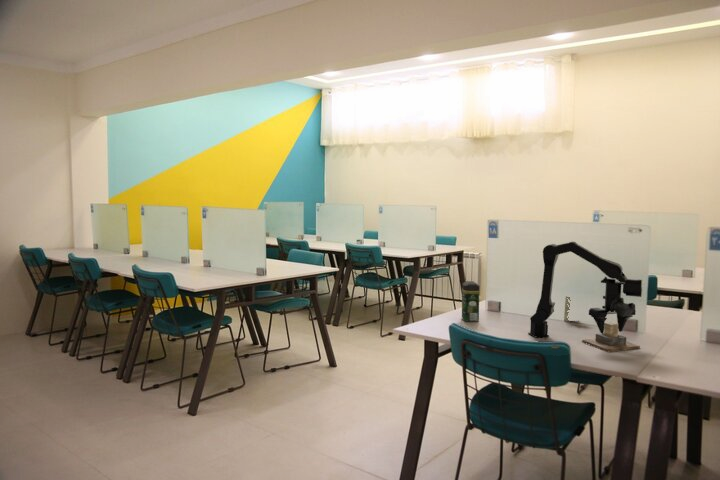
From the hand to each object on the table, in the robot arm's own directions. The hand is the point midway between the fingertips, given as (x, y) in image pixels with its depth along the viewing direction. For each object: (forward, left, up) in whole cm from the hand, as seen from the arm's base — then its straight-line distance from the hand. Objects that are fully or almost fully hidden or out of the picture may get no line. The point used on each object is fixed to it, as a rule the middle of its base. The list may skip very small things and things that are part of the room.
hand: (611, 332), depth 219 cm
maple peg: (0, 0, -4) cm, 4 cm away
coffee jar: (-33, +55, -6) cm, 64 cm away
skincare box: (+13, +39, -6) cm, 41 cm away
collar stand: (0, 0, -5) cm, 5 cm away
